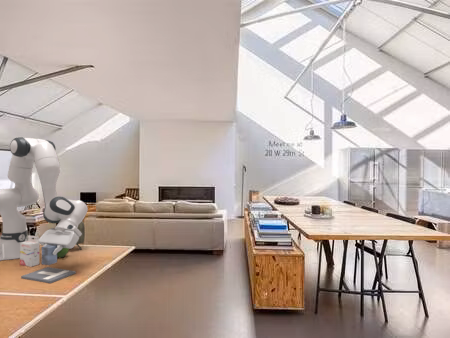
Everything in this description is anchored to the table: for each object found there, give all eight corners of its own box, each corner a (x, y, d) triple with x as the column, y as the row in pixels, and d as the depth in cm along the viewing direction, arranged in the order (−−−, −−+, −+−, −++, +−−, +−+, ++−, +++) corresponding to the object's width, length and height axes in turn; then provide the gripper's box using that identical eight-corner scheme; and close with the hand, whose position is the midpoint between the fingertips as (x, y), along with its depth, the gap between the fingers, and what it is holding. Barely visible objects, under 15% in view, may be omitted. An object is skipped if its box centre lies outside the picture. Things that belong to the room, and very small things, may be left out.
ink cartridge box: (19, 265, 162) (19, 236, 162) (28, 262, 166) (28, 235, 166) (31, 266, 159) (31, 238, 159) (39, 264, 163) (40, 236, 163)
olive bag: (84, 249, 193) (84, 209, 193) (70, 252, 185) (71, 211, 185) (71, 246, 201) (71, 207, 201) (57, 249, 193) (57, 209, 193)
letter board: (21, 278, 142) (21, 276, 142) (47, 269, 156) (47, 266, 156) (50, 283, 136) (50, 281, 136) (75, 273, 150) (75, 271, 150)
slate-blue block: (41, 264, 145) (41, 247, 145) (49, 261, 149) (50, 244, 149) (48, 265, 143) (48, 247, 143) (57, 262, 147) (57, 245, 147)
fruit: (69, 254, 181) (69, 234, 181) (67, 258, 174) (67, 237, 174) (54, 256, 179) (54, 235, 179) (51, 259, 171) (51, 238, 171)
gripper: (45, 224, 156) (27, 248, 147) (77, 226, 149) (60, 252, 140) (53, 231, 160) (36, 255, 151) (84, 234, 153) (68, 259, 144)
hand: (48, 253), depth 145 cm, fingers closed on slate-blue block, 4 cm apart
